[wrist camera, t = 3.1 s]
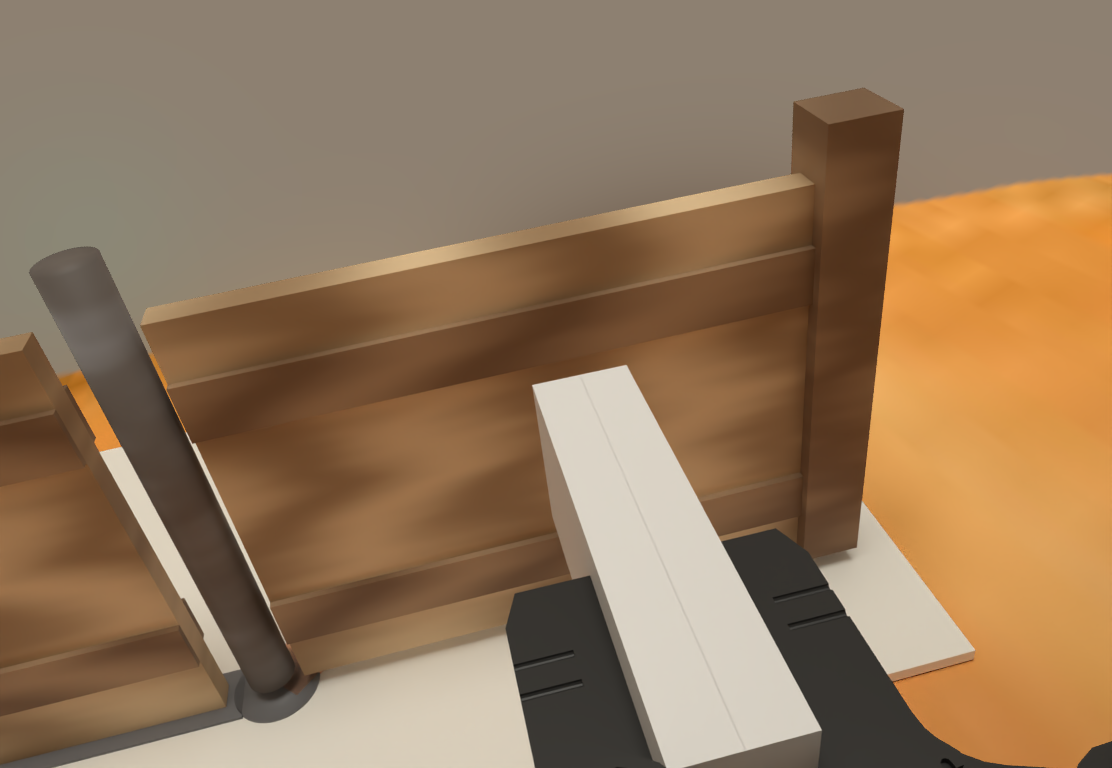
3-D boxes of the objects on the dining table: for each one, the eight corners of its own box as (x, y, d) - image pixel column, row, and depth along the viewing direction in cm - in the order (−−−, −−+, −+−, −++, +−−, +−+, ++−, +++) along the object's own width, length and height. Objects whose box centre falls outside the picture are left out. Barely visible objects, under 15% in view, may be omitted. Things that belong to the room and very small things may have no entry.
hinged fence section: (246, 704, 26) (18, 288, 17) (250, 655, 27) (42, 251, 19) (856, 547, 27) (904, 108, 19) (830, 510, 29) (864, 87, 21)
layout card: (720, 320, 41) (719, 311, 41) (973, 659, 25) (976, 648, 25) (-74, 498, 37) (-80, 490, 37) (-385, 1032, 21) (-401, 1024, 21)
